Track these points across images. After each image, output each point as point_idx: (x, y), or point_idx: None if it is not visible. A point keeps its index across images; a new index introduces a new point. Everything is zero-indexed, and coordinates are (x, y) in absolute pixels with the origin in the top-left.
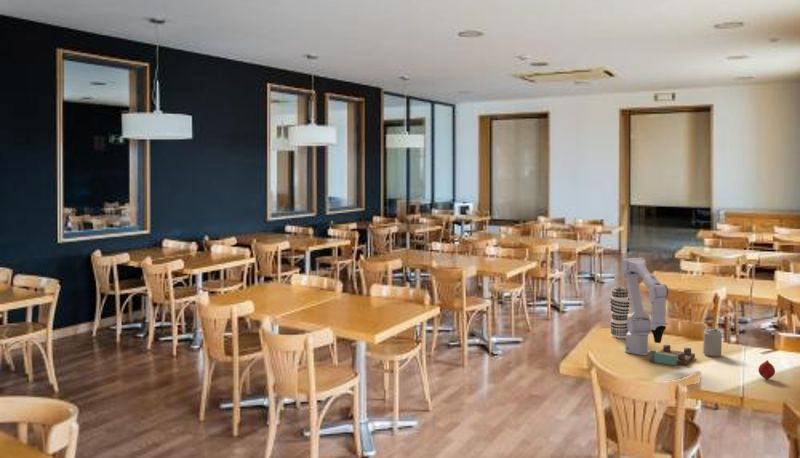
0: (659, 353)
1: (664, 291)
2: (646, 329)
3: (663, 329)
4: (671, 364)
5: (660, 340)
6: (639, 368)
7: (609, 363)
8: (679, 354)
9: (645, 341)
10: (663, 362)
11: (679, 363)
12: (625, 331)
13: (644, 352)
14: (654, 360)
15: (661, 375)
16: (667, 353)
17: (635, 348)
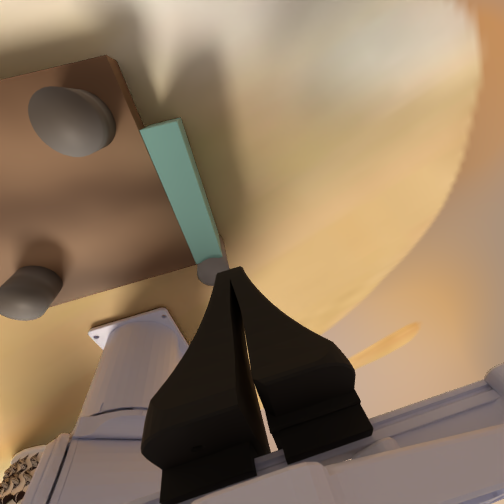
0: (205, 237)
1: None
2: (99, 457)
3: (283, 363)
4: (189, 144)
5: (240, 277)
6: (337, 220)
7: (339, 308)
8: (101, 127)
9: (133, 371)
10: (204, 191)
11: (135, 111)
12: (30, 474)
13: (149, 324)
14: (218, 235)
15: (388, 82)
16: (76, 252)
17: (176, 354)
